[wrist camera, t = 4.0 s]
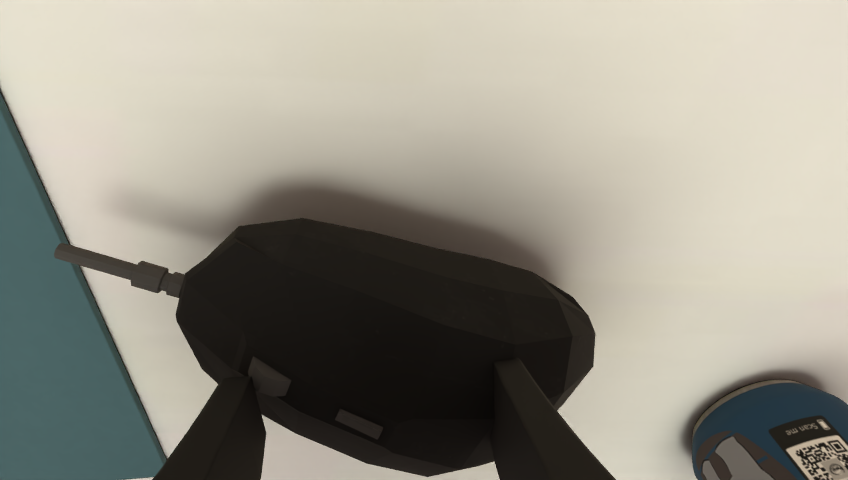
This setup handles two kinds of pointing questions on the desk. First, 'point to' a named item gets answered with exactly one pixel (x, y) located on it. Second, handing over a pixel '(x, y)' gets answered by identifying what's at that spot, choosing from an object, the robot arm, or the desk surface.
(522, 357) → the gaming mouse
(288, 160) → the desk surface
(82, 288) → the mouse pad
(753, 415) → the soda can
